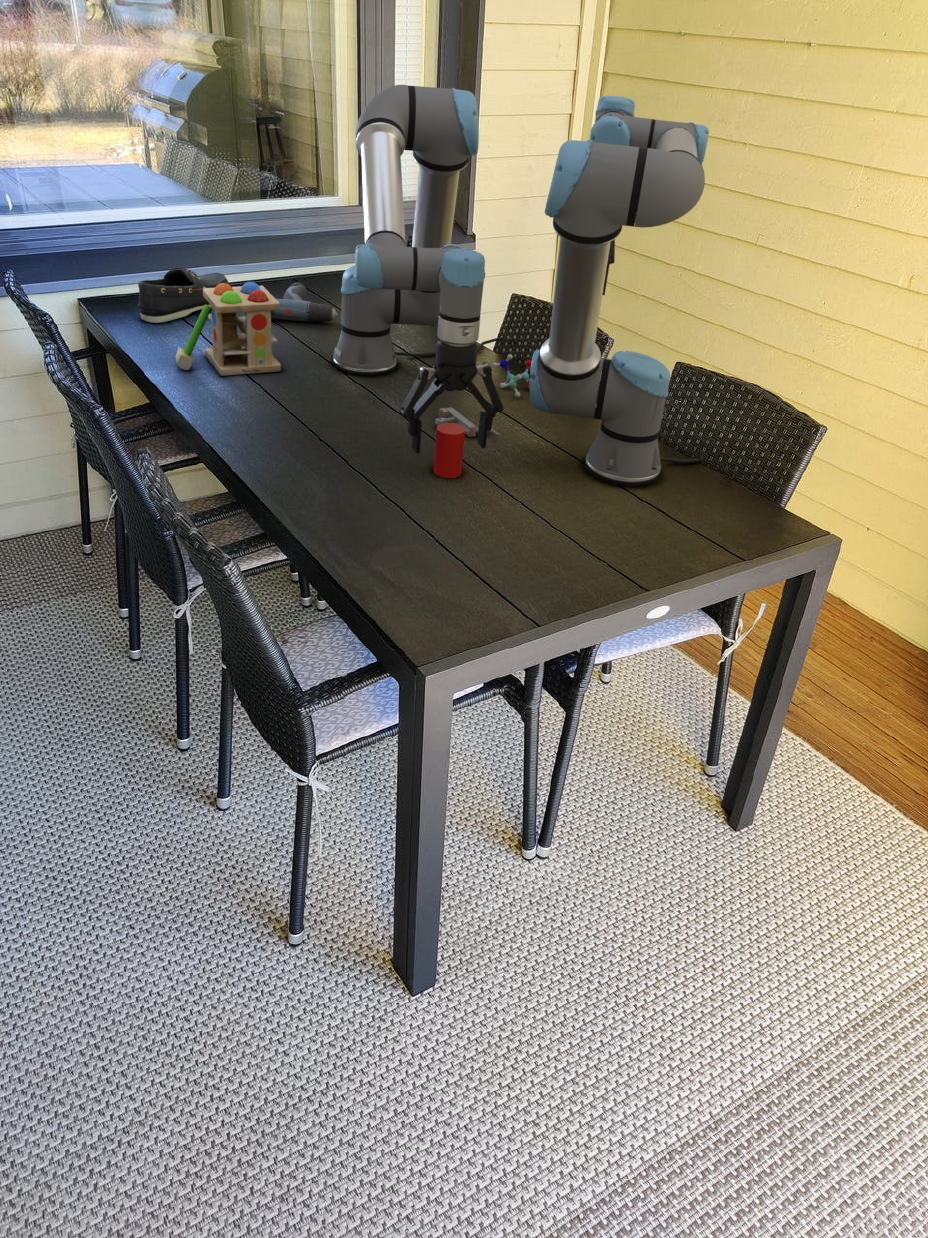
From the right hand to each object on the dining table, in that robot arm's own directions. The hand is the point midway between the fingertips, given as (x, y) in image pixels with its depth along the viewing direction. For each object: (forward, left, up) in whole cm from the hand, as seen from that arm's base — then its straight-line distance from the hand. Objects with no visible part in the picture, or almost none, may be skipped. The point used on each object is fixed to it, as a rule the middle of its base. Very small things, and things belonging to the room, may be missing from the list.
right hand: (588, 285), depth 214 cm
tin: (+36, +36, -27) cm, 58 cm away
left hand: (+36, +36, -22) cm, 55 cm away
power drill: (+58, -61, -27) cm, 89 cm away
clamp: (+29, +16, -27) cm, 43 cm away
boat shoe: (+90, -64, -27) cm, 113 cm away
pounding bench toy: (+79, -21, -27) cm, 86 cm away
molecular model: (+13, -7, -27) cm, 30 cm away
